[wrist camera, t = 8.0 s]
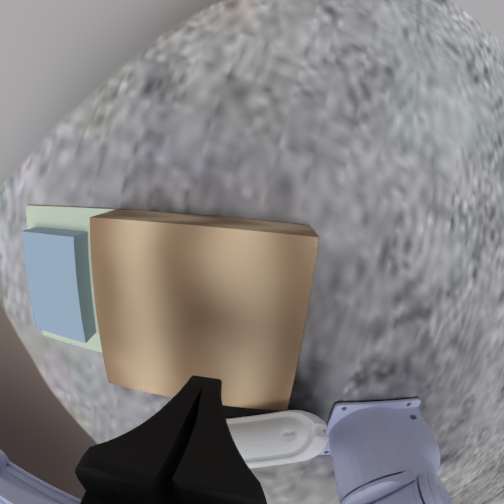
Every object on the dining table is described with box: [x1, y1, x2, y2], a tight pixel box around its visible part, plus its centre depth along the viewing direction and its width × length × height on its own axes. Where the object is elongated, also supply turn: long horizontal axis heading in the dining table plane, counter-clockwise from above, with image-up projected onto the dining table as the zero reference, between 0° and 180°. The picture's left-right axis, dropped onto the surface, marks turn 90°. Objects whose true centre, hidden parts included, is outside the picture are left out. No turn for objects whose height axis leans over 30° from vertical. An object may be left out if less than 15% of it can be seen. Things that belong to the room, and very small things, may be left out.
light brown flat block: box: [90, 209, 319, 411], centre depth 20 cm, size 14×13×4 cm
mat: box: [26, 205, 116, 353], centre depth 22 cm, size 10×13×1 cm
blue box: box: [22, 227, 96, 343], centre depth 21 cm, size 6×9×2 cm, turn 175°
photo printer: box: [226, 410, 329, 468], centre depth 21 cm, size 10×4×12 cm
